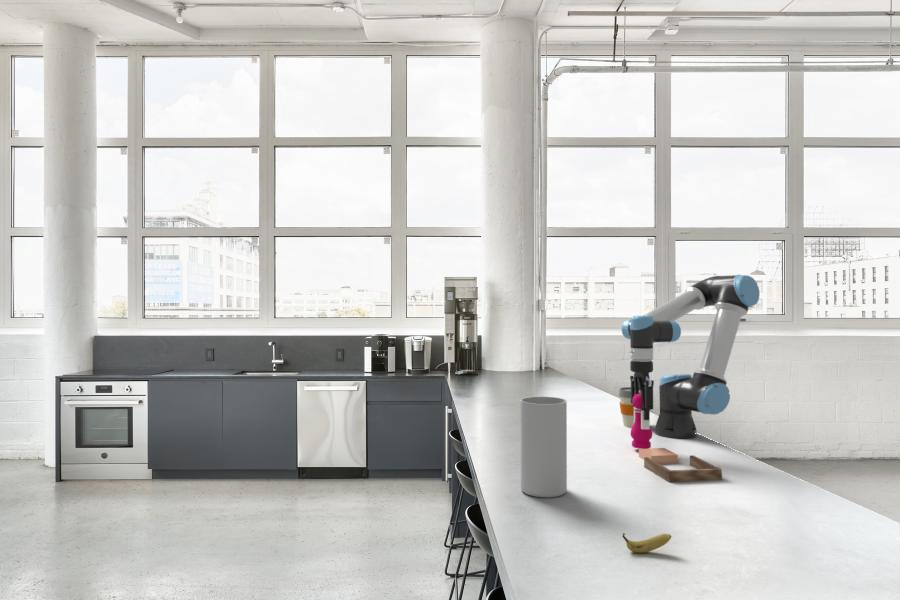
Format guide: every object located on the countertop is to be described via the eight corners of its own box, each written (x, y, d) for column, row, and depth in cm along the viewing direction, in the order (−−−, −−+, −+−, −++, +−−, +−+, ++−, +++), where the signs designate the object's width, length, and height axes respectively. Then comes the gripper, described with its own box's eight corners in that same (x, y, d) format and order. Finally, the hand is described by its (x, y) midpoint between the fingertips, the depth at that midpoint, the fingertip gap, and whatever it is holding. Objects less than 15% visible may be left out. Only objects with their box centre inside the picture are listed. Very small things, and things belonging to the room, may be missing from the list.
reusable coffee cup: (612, 424, 255) (612, 388, 255) (635, 421, 260) (635, 386, 260) (633, 430, 244) (633, 392, 244) (657, 427, 249) (657, 390, 249)
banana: (669, 550, 128) (669, 531, 128) (673, 555, 126) (673, 536, 126) (620, 549, 129) (620, 531, 129) (623, 554, 126) (623, 535, 126)
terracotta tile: (664, 456, 205) (664, 447, 204) (677, 464, 196) (677, 454, 196) (638, 458, 203) (638, 449, 203) (651, 465, 194) (651, 456, 194)
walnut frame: (693, 464, 193) (693, 455, 193) (721, 479, 177) (721, 469, 177) (644, 466, 191) (644, 457, 191) (668, 482, 175) (668, 471, 175)
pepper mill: (628, 447, 210) (628, 389, 210) (632, 443, 216) (632, 387, 216) (650, 450, 206) (650, 391, 206) (653, 445, 213) (654, 388, 213)
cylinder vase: (531, 500, 160) (531, 405, 160) (514, 486, 172) (513, 397, 172) (574, 496, 163) (574, 402, 163) (554, 482, 175) (554, 395, 175)
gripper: (620, 357, 220) (620, 422, 220) (643, 363, 202) (642, 433, 202) (640, 357, 221) (640, 421, 221) (664, 362, 203) (664, 432, 203)
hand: (641, 427), depth 211 cm, fingers closed on pepper mill, 5 cm apart
